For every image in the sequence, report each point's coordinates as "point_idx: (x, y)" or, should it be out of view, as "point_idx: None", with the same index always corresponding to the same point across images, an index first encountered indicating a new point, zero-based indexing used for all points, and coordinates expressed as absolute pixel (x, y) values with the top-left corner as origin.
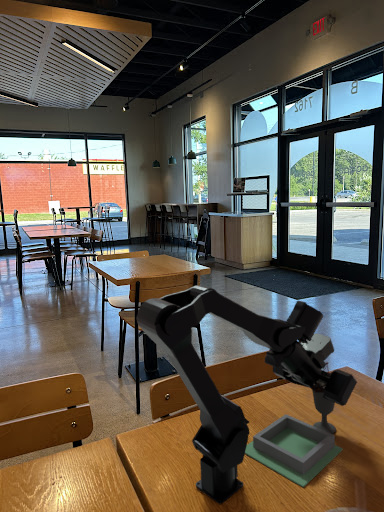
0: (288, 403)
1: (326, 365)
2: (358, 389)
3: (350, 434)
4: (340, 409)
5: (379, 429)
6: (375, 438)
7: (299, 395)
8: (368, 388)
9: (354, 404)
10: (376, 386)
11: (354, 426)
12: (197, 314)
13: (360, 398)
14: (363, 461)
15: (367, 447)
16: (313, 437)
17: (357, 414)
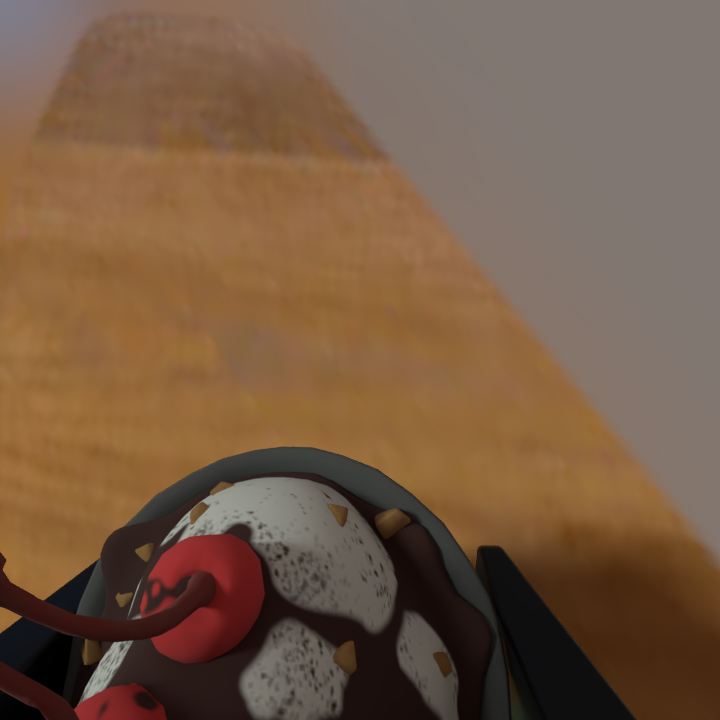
0: (39, 516)
1: (16, 692)
2: (240, 116)
3: (480, 498)
4: (289, 328)
5: (532, 331)
6: (580, 419)
7: (45, 387)
8: (267, 79)
9: (308, 235)
10: (282, 43)
11: (440, 410)
12: None
13: (294, 171)
14: (715, 690)
15: (620, 535)
16: None
17: (375, 300)
